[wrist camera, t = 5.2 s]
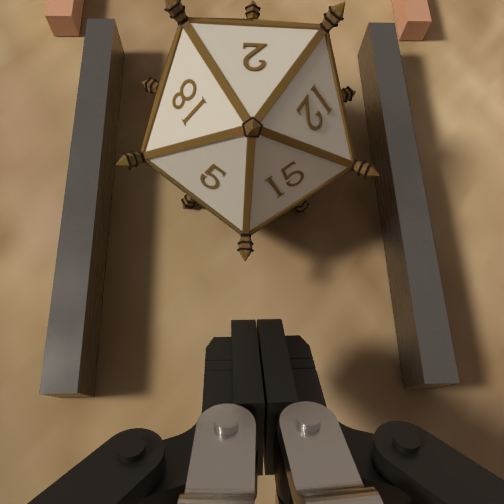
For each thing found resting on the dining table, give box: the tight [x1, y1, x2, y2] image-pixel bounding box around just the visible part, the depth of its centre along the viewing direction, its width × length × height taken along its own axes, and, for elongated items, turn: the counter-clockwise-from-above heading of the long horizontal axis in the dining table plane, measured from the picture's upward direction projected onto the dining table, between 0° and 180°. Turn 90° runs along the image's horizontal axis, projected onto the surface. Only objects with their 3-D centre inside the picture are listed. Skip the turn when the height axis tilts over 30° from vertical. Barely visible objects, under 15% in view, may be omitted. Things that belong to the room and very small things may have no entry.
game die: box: [116, 0, 380, 261], centre depth 17 cm, size 9×8×10 cm
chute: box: [39, 18, 460, 398], centre depth 19 cm, size 14×16×2 cm
